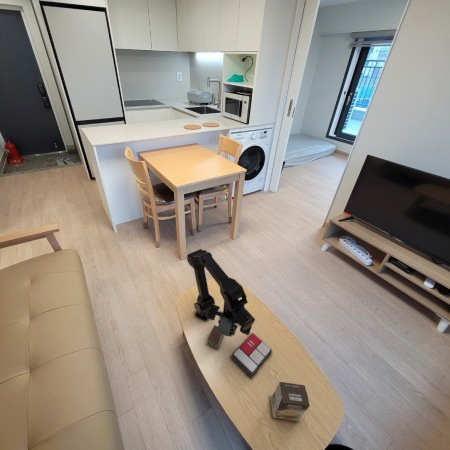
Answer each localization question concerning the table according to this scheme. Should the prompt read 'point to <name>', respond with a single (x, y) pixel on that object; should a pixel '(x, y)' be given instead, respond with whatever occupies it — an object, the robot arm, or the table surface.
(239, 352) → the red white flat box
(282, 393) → the coffee box
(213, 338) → the walnut block
